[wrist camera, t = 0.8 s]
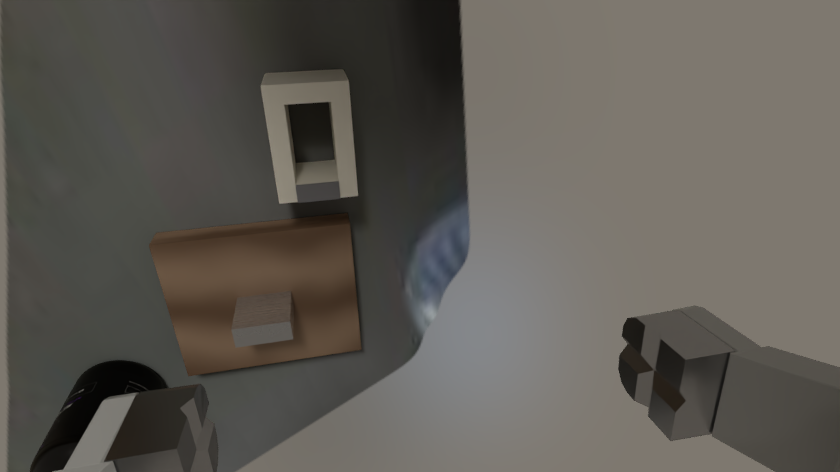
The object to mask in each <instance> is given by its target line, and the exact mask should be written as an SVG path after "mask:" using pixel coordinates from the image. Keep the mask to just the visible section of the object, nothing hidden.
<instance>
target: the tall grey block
mask: <svg viewBox="0 0 840 472" xmlns="http://www.w3.org/2000/svg"><path fill="white" fill-rule="evenodd" d="M293 324H294V306H293V300H292V294H291V291H286V292H279V293H271V294H263V295H255V296H248V297H240V298H237V302H236V308H235V313H234V318H233V323H232V328H231V331H232V335H233V339H234V343H235V347H236V348H237V347H244V346H251V345H258V344H265V343H272V342H278V341H285V340H292V339H293Z"/></svg>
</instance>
